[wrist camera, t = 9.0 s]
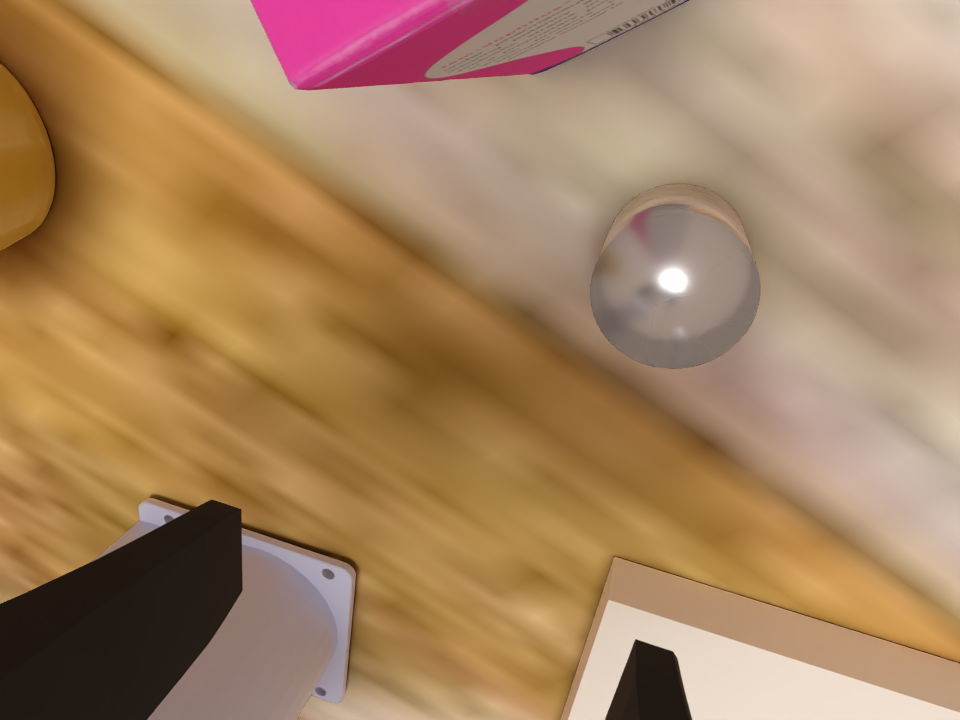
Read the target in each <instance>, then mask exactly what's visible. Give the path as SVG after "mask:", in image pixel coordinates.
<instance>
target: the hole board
mask: <svg viewBox="0 0 960 720" xmlns="http://www.w3.org/2000/svg"><path fill="white" fill-rule="evenodd" d="M635 639H637V640H640V641H643V642H646V643H649V644H652V645H655V646H658V647H661V648H664V649H667V650H670V651H673V652H674V654H675V655H676V657H677V659H678V663H679V668H680V673H681V677H682V681H683V686H684V690H685V694H686V698H687V702H688V705H689V709H690V713H691V716H692V720H960V663H957V662H953V661H950V660H947V659H944V658H941V657H937V656H934V655H931V654H928V653H924V652H921V651H918V650H915V649H911V648H908V647H905V646H902V645H899V644H895V643H892V642H889V641H886V640H882V639H879V638H876V637H873V636H869V635H866V634H863V633H860V632H857V631H853V630H850V629H847V628H844V627H840V626H837V625H834V624H831V623H827V622H824V621H821V620H818V619H814V618H811V617H808V616H805V615H802V614H798V613H795V612H792V611H789V610H785V609H782V608H779V607H776V606H772V605H769V604H766V603H763V602H760V601H756V600H753V599H750V598H747V597H743V596H740V595H737V594H734V593H730V592H727V591H724V590H721V589H718V588H714V587H711V586H708V585H705V584H701V583H698V582H695V581H692V580H688V579H685V578H682V577H679V576H676V575H672V574H669V573H666V572H663V571H659V570H656V569H653V568H650V567H646V566H643V565H640V564H637V563H634V562H630V561H627V560H624V559H621V558H617V557H614V559H613V562H612V565H611V568H610V571H609V574H608V577H607V580H606V583H605V586H604V589H603V592H602V595H601V598H600V601H599V604H598V607H597V610H596V613H595V617H594V620H593V623H592V626H591V629H590V632H589V635H588V638H587V641H586V644H585V647H584V650H583V653H582V656H581V659H580V662H579V665H578V668H577V671H576V674H575V677H574V680H573V683H572V686H571V689H570V692H569V695H568V698H567V701H566V704H565V707H564V710H563V713H562V716H561V719H560V720H605V718H606V715H607V713H608V710H609V707H610V705H611V702H612V699H613V697H614V694H615V692H616V689H617V686H618V684H619V681H620V678H621V676H622V673H623V670H624V668H625V665H626V663H627V660H628V657H629V655H630V652H631V649H632V647H633V644H634V642H635Z"/></svg>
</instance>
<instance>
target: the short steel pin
mask: <svg viewBox="0 0 960 720" xmlns="http://www.w3.org/2000/svg"><path fill="white" fill-rule="evenodd" d="M590 298H591V306H592V310H593V314H594V317H595V319H596V322H597V324H598V326H599V328H600V330H601V331H602V333H603V334H604V335H605V337H606V338H607V339H608V341H609V342H610V343H611V344H612V345H613V346H614V347H615V348H617V349H618V350H619V351H620V352H622V353H623V354H625V355H626V356H628V357H630V358H631V359H633V360H636V361H638V362H640V363H643V364H646V365H649V366H654V367H659V368H669V369H676V368H687V367H693V366H697V365H700V364H704V363H706V362H709V361H711V360H713V359H715V358H717V357H719V356H721V355H722V354H724V353H725V352H727V351H728V350H729V349H731V348H732V347H733V346H734V345H735V344H736V343H737V342H738V341H739V340H740V339H741V338H742V337H743V336H744V334H745V333H746V332H747V330H748V329H749V327H750V325H751V324H752V321H753V319H754V317H755V315H756V312H757V309H758V305H759V299H760V279H759V273H758V269H757V266H756V263H755V260H754V257H753V254H752V251H751V248H750V245H749V243H748V240H747V237H746V234H745V231H744V228H743V225H742V223H741V221H740V219H739V217H738V215H737V214H736V212H735V211H734V209H733V208H732V207H731V206H730V205H729V204H728V203H727V202H726V201H725V200H724V199H723V198H722V197H720V196H719V195H717V194H715V193H714V192H712V191H710V190H708V189H705V188H703V187H699V186H696V185H690V184H668V185H663V186H659V187H655V188H653V189H650V190H647V191H646V192H644V193H642V194H640V195H638V196H637V197H636V198H634V199H633V200H631V201H630V202H629V203H628V204H627V205H626V206H625V207H624V208H623V209H622V210H621V212H620V213H619V214H618V216H617V217H616V219H615V220H614V222H613V224H612V226H611V228H610V231H609V233H608V236H607V238H606V241H605V243H604V246H603V248H602V251H601V253H600V256H599V258H598V261H597V263H596V266H595V269H594V272H593V275H592V280H591V288H590Z"/></svg>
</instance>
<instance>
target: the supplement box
mask: <svg viewBox="0 0 960 720" xmlns="http://www.w3.org/2000/svg"><path fill="white" fill-rule="evenodd" d="M250 1H251V3H252V5H253V7H254V9H255V11H256V14H257V16H258V18H259V20H260V22H261V24H262V26H263V28H264V31H265V33H266V35H267V37H268V39H269V41H270V43H271V45H272V47H273V49H274V51H275V54H276V56H277V58H278V60H279V62H280V64H281V66H282V68H283V70H284V72H285V75H286V77H287V79H288V82H289V83H290V84H291V85H292V87H293V88H294V89H299V90H319V89H334V88H348V87H362V86H375V85H389V84H404V83H414V82H428V81H442V80H449V79H465V78H466V79H467V78H479V77H492V76H509V75H521V74H532V75H533V74H536V73H540V72H543V71H546V70H548V69H550V68H552V67H554V66H557V65H559V64H561V63H563V62H565V61H567V60H570V59H572V58H574V57H576V56H578V55H580V54H582V53H584V52H586V51H588V50H590V49H593V48H595V47H597V46H599V45H601V44H603V43H605V42H607V41H609V40H611V39H613V38H615V37H617V36H619V35H621V34H623V33H625V32H627V31H629V30H631V29H633V28H635V27H637V26H639V25H641V24H643V23H645V22H647V21H649V20H651V19H653V18H655V17H657V16H659V15H661V14H663V13H665V12H667V11H669V10H671V9H673V8H675V7H677V6H679V5H681V4H683V3H684V2H686V1H688V0H250Z"/></svg>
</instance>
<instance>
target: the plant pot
mask: <svg viewBox="0 0 960 720" xmlns="http://www.w3.org/2000/svg"><path fill="white" fill-rule="evenodd" d="M54 191H55V165H54V157H53V153H52V148H51V144H50V141H49V138H48V135H47V132H46V129H45V127H44V125H43V122H42V120H41V118H40V116H39V114H38V111H37V110H36V108H35V106H34V104H33V102H32V101H31V99H30V97H29V96H28V94H27V93H26V91H25V90H24V89H23V87H22V86H21V85H20V83H19V82H18V81H17V79H16V78H15V77H14V76H13V75H12V74H11V73H10V72H9V71H8V70H7V69H6V68H5V67H4V66H3V65H2V64H0V251H1V250H3V249H5V248H7V247H8V246H10V245H12V244H14V243H15V242H17V241H19V240H21V239H22V238H24V237H26V236H28V235H29V234H31V233H32V232H33V231H35V230H36V229H37V228H38V227H39V226H40V225H41V224H42V222H43V221H44V219H45V218H46V216H47V214H48V212H49V209H50V206H51V204H52V201H53V196H54Z"/></svg>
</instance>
